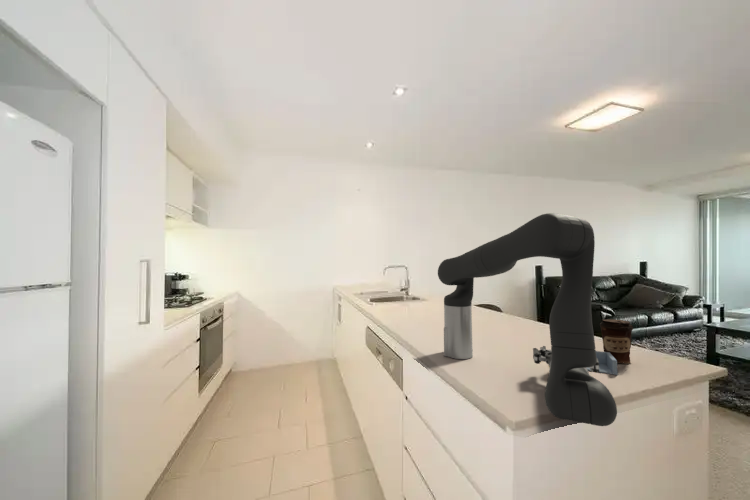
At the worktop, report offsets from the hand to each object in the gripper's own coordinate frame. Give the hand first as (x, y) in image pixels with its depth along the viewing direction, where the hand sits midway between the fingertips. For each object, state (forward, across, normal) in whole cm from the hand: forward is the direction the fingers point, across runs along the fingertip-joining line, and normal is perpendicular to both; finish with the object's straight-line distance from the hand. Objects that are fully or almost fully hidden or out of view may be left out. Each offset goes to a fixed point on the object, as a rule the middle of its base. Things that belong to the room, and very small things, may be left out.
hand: (561, 351), depth 80 cm
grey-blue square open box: (+12, -10, +6) cm, 16 cm away
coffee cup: (+22, -17, +7) cm, 28 cm away
